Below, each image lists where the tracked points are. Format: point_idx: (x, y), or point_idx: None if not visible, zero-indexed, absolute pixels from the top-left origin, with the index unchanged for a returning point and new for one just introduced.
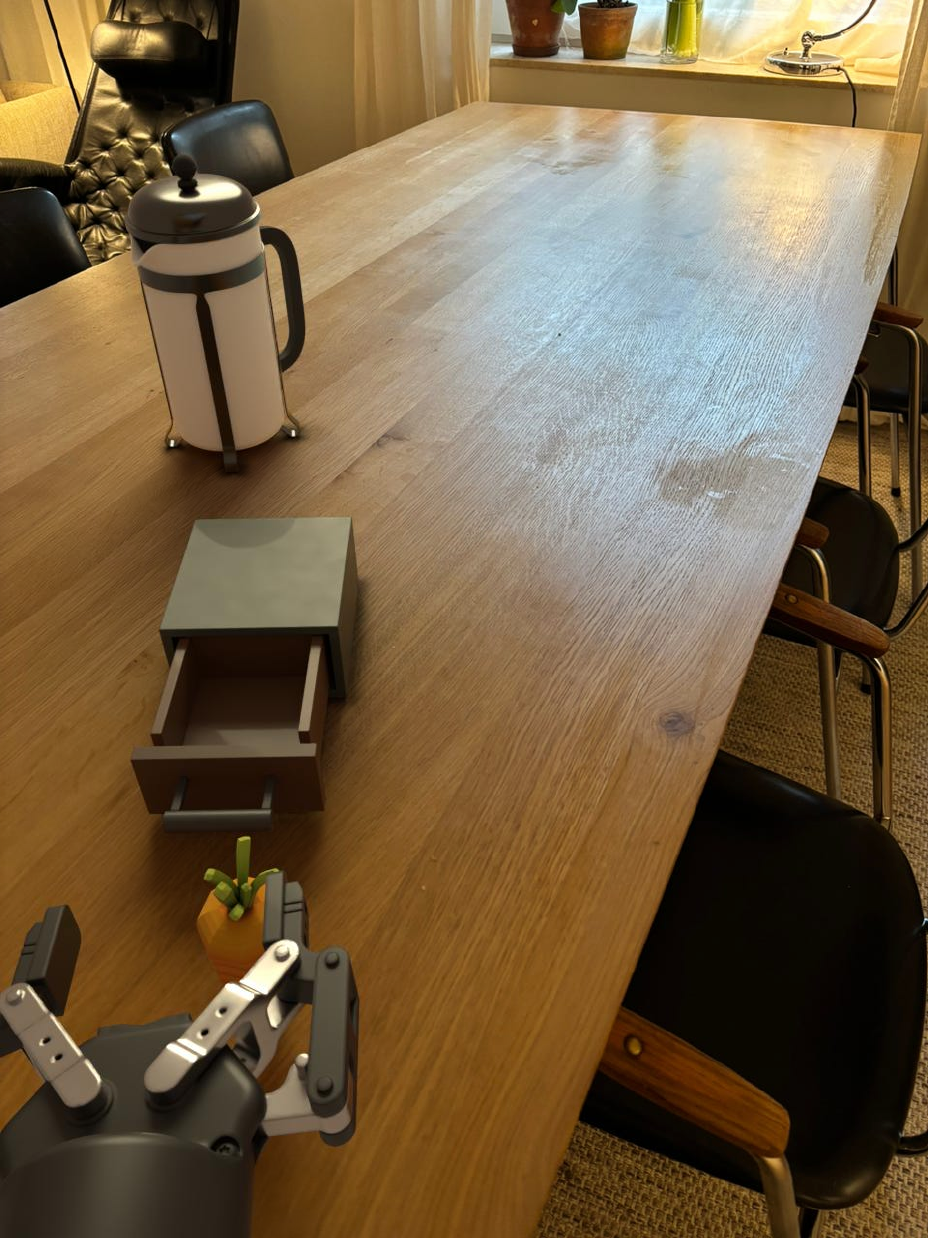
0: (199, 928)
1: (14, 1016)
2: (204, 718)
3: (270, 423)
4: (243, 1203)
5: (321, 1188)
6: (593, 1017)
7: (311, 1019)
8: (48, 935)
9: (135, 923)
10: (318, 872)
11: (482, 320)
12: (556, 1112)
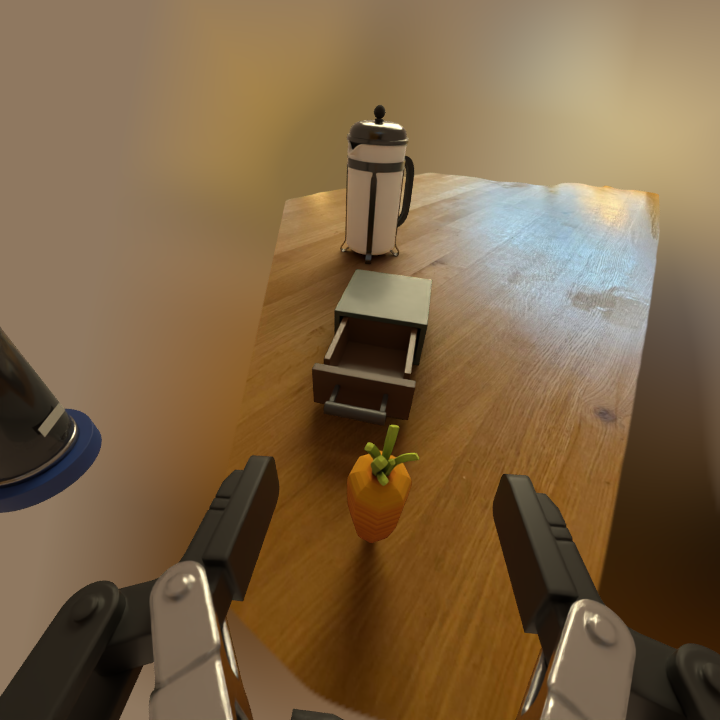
0: (349, 481)
1: (166, 629)
2: (348, 360)
3: (388, 245)
4: None
5: (399, 689)
6: None
7: None
8: (245, 492)
9: (298, 459)
10: None
11: (477, 228)
12: None
